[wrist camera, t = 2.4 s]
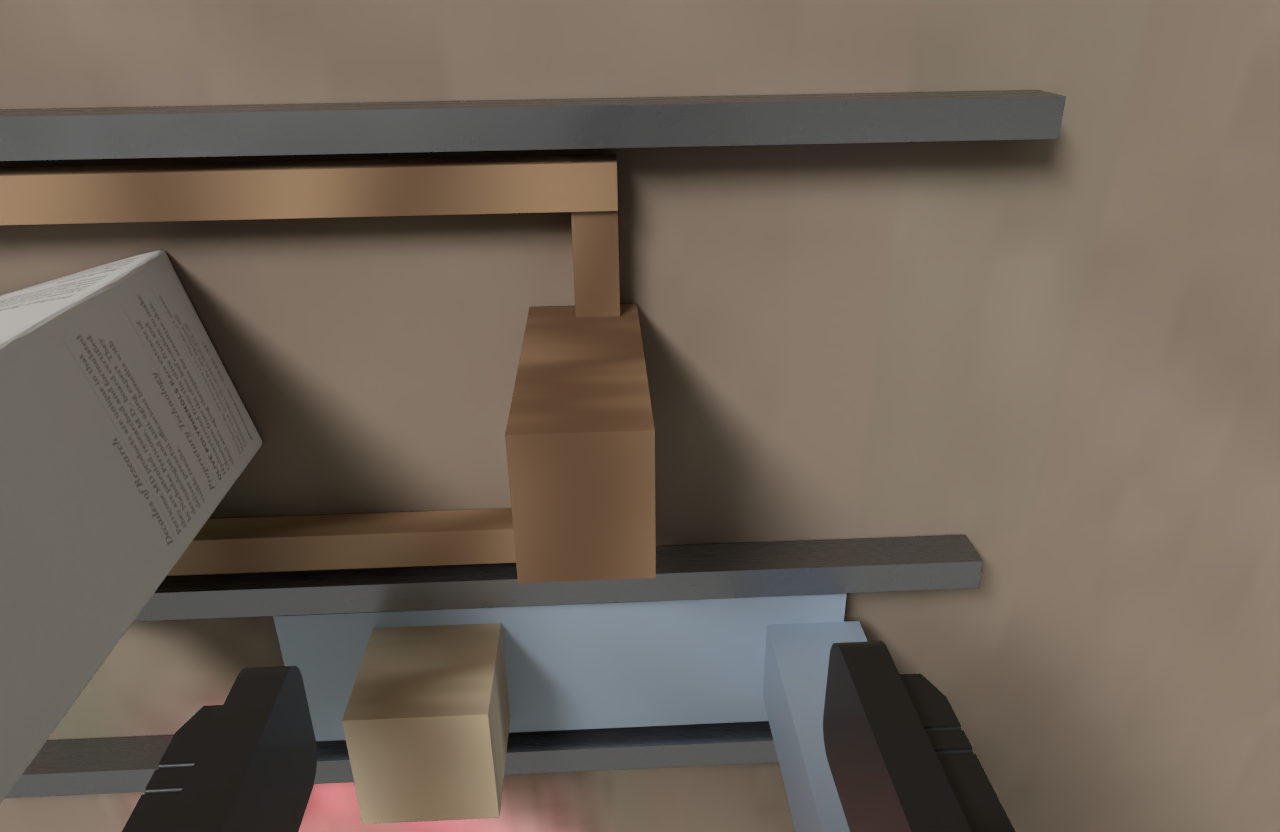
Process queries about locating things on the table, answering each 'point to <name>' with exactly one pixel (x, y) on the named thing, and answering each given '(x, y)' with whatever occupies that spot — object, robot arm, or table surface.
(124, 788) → the guide rails
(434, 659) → the beech cube
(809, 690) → the pale blue bent piece
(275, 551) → the walnut frame
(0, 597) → the skincare box
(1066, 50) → the table surface
